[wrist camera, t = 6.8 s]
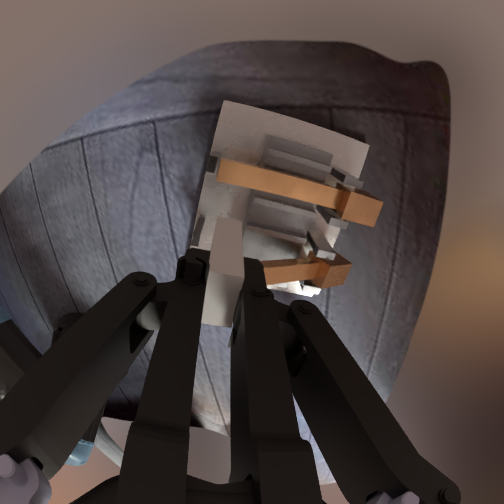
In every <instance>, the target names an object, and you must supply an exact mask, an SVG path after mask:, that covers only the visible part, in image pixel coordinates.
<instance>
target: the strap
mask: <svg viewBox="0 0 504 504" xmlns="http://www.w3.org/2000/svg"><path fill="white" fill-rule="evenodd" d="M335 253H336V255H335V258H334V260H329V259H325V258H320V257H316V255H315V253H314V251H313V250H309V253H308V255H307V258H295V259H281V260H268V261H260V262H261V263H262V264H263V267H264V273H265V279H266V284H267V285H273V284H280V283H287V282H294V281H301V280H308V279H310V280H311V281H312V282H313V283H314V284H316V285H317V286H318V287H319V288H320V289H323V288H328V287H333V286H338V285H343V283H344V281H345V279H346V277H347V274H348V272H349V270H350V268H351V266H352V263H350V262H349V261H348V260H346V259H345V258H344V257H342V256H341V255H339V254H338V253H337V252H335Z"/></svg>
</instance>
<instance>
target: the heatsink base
mask: <svg viewBox="0 0 504 504" xmlns="http://www.w3.org/2000/svg"><path fill="white" fill-rule="evenodd" d="M369 146H370V145H367V144H365V143H363V142H360V141H358V140H355V139H353V138H350V137H347V136H345V135H342V134H339V133H337V132H334V131H331V130H328V129H326V128H323V127H320V126H317V125H314V124H311V123H308V122H305V121H302V120H298V119H295V118H292V117H289V116H285V115H282V114H278V113H275V112H271V111H268V110H264V109H260V108H256V107H252V106H248V105H244V104H240V103H235V102H231V101H226V100H224V101H223V105H222V109H221V112H220V116H219V120H218V124H217V128H216V132H215V135H214V140H213V144H212V148H211V152H210V156H209V160H208V164H207V169H206V173H205V178H204V182H203V187H202V191H201V196H200V201H199V205H198V210H197V215H196V220H195V225H194V230H193V235H192V241H191V246H190V248H192V247H193V248H198V249H203V250H208V251H210V250H211V245H212V240H213V235H214V230H215V225H216V220H217V216H218V217H223V218H228V219H233V220H238V221H241V222H242V241H243V257H248V258H254V259H258V260H259V261H268V260H281V259H295V258H307V255H308V253H309V250H313V251H314V253H315V255H316V257H320V258H325V259H329V260H334V258H335V255H336V253H335V251H334V250H333V246H334V243H335V241H336V238H337V236H338V233H339V230H340V228H342V229H345V230H346V228H347V226H348V223H349V222H348V221H347V220H345V219H341V218H340V217H339V216H338V215H337V214H336V213H335V212H334V211H333V210H332V209H331V208H329V207H325V206H321V205H318V204H314V203H310V202H306V201H302V200H298V199H294V198H290V197H286V196H282V195H277V194H273V193H269V192H265V191H260V190H256V189H251V188H247V187H242V186H237V185H233V184H228V183H223V182H218V181H216V175H217V171H218V167H219V163H220V159H221V157H222V158H226V159H231V160H236V161H240V162H244V163H249V164H253V165H257V166H261V167H266V168H270V169H274V170H277V171H281V172H285V173H289V174H293V175H296V176H300V177H304V178H307V179H311V180H314V181H318V182H321V183H325V184H328V185H331V186H335V187H336V184H337V182H338V183H341V184H344V185H348V186H351V187H354V188H355V187H356V188H359V189H361V188H362V185H363V181H361V180H360V179H359V176H360V173H361V170H362V167H363V164H364V161H365V158H366V155H367V152H368V149H369ZM267 288H269V289H274V290H279V291H285V292H290V293H295V294H300V295H306V296H311V297H312V295H313V294H319V292H320V290H321V289H320V288H319V287H318V286H317V285H316V284H314V283H313V282H312V281H311V280H310V279H308V280H301V281H294V282H287V283H280V284H273V285H267Z"/></svg>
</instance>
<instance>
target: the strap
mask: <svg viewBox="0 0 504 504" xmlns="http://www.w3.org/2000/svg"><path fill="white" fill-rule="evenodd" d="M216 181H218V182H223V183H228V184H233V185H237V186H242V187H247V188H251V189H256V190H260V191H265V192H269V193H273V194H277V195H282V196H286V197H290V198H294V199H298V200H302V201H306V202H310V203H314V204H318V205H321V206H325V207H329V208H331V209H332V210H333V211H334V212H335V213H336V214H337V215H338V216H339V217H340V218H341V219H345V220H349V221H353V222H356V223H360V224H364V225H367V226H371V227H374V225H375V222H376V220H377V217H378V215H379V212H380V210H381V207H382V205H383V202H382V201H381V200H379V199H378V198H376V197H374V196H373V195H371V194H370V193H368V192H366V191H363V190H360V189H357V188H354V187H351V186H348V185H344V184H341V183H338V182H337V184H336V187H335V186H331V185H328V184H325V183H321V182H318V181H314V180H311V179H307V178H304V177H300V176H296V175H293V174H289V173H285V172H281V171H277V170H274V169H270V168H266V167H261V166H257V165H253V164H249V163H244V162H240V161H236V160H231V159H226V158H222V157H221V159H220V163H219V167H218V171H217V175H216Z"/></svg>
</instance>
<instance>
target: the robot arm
mask: <svg viewBox="0 0 504 504" xmlns="http://www.w3.org/2000/svg"><path fill="white" fill-rule="evenodd" d="M11 318H12V317H11V315H8V314H7V312H6V311H5V310H4V309H3V307H2V306H1V305H0V504H47V503H48V502H49V500H50V498H51V495H52V492H51V486H50V483H49V481H48V480H50V479H51V478H52V477H53V476H54V475H55V474H56V473H57V472H58V471H59V470H60V469H61V467H62V466H63V465H64V464H68V465H74V466H79V465H83V464H85V463H86V462H87V460H88V458H89V455H90V453H91V450H92V448H93V447H94V441H95V437H96V434H97V431H98V427H99V424H100V421H101V418H102V415H103V411H104V408H105V405H106V402H107V399H108V397H109V396H110V395H111V393H112V392H113V390H114V389H115V387H116V386H117V385H118V384H119V383H120V382H121V381H122V380H123V378H124V377H125V376H126V375H127V373H128V370H129V367H130V366H131V364H132V363H133V362H134V360H135V359H136V357H137V356H138V354H139V353H140V352H141V350H142V349H143V347H144V346H145V345H146V343H147V342H148V340H149V339H150V338H151V336H152V335H153V333H154V330H159V332H158V336H157V339H156V343H155V346H154V350H153V353H152V357H151V360H150V364H149V368H148V372H147V375H146V379H145V383H144V387H143V391H142V395H141V399H140V403H139V407H138V411H137V416H136V419H135V421H134V422H132V423H131V426H130V429H129V432H128V436H127V441H126V446H125V450H124V455H123V460H122V465H121V470H120V475H117V476H115V477H112V478H110V479H107V480H105V481H104V482H102V483H100V484H99V485H98V486H96V487H95V488H93V489H91V490H90V491H89V492H87V493H85V494H84V495H82V496H81V497H79V498H78V499H76V500H74V501H73V502H71V503H69V504H326V503H325V502H324V501H323V500H322V496H321V491H320V485H319V480H318V475H317V470H316V465H315V459H314V454H313V450H312V447H311V444H310V443H309V442H308V441H307V440H304V439H302V438H301V437H300V433H299V428H298V422H297V417H296V411H295V406H294V400H293V395H294V398H295V400H296V402H297V404H298V406H299V408H300V410H301V412H302V414H303V416H304V418H305V420H306V422H307V424H308V426H309V429H310V431H311V433H312V435H313V437H314V439H315V441H316V443H317V445H318V447H319V449H320V451H321V453H322V455H323V457H324V459H325V461H326V463H327V465H328V467H329V469H330V471H331V473H332V475H333V477H334V479H335V480H336V482H337V484H338V486H339V488H340V490H341V491H342V493H343V495H344V497H345V498H346V500H347V501H348V502H349V503H350V504H460V501H461V493H460V491H459V488H458V486H457V485H456V484H455V483H454V482H453V481H451V480H450V479H449V478H448V477H446V476H445V475H444V474H442V473H441V472H440V471H439V470H438V469H436V468H435V467H434V466H433V465H431V464H430V463H429V462H428V461H426V460H425V459H424V458H422V456H420V455H419V454H418V452H417V450H416V449H415V447H414V446H413V445H412V443H411V441H410V440H409V439H408V437H407V435H406V434H405V432H404V431H403V430H402V428H401V427H400V425H399V424H398V422H397V421H396V419H395V418H394V416H393V415H392V413H391V412H390V410H389V409H388V407H387V406H386V404H385V403H384V401H383V400H382V399H381V397H380V396H379V394H378V393H377V391H376V390H375V388H374V387H373V385H372V384H371V383H370V381H369V380H368V378H367V377H366V375H365V374H364V372H363V371H362V370H361V368H360V367H359V365H358V364H357V362H356V361H355V360H354V358H353V357H352V355H351V354H350V352H349V351H348V350H347V348H346V347H345V345H344V344H343V343H342V341H341V340H340V338H339V337H338V335H337V334H336V333H335V331H334V330H333V328H332V327H331V326H330V324H329V323H328V321H327V320H326V319H325V317H324V316H323V314H322V313H321V312H320V310H319V309H318V308H317V307H316V306H315V305H314V304H312V303H311V302H309V301H306V300H294V301H293V302H291V305H290V306H288V305H285V304H282V303H280V302H278V301H276V300H274V295H273V293H272V291H271V290H270V289H268V288H267V284H266V279H265V273H264V267H263V264H262V263H261V262H260V261H259V260H258V259H254V258H248V257H243V241H242V222H241V221H238V220H233V219H228V218H223V217H218V216H217V220H216V225H215V230H214V235H213V240H212V245H211V250H210V251H208V250H203V249H198V248H193V247H192V248H190V249H189V250H187V251H186V254H185V256H182V257H180V258H179V259H178V262H177V270H176V278H175V280H173V281H171V282H165V283H157V280H156V278H155V277H154V276H153V275H151V274H149V273H146V272H133V273H130V274H129V275H127V276H126V277H125V278H124V279H122V280H121V281H120V282H119V283H118V284H117V285H116V286H115V287H114V288H112V289H111V290H110V291H109V292H108V293H107V294H106V295H105V296H104V297H102V298H101V299H100V300H99V301H98V302H97V303H96V304H95V305H94V306H93V307H92V308H91V309H89V310H88V311H87V312H86V313H85V314H80V313H72V314H68V315H65V316H64V317H62V318H61V320H60V321H59V322H58V324H57V325H56V327H55V329H54V332H53V336H52V341H51V347H50V348H49V349H48V350H47V351H46V352H45V353H44V354H43V355H42V354H41V353H40V352H39V351H38V350H37V349H36V348H35V347H34V346H33V344H32V343H31V342H30V341H29V340H28V339H27V337H26V336H25V335H24V334H23V333H22V331H21V330H20V329H19V328H18V326H17V325H16V324H15V323H14V321H13V320H12V319H11ZM201 323H206V324H211V325H217V326H223V327H229V328H231V327H232V323H233V329H232V333H231V336H230V340H229V344H228V347H230V346H231V379H230V412H231V473H230V478H229V483H227V484H214V483H211V482H207V481H204V480H201V479H198V478H196V477H192V476H190V475H187V463H188V449H189V427H190V416H191V406H192V396H193V387H194V378H195V369H196V360H197V352H198V344H199V336H200V328H201ZM304 347H305V349H306V350H305V349H304ZM292 393H293V395H292Z"/></svg>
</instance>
